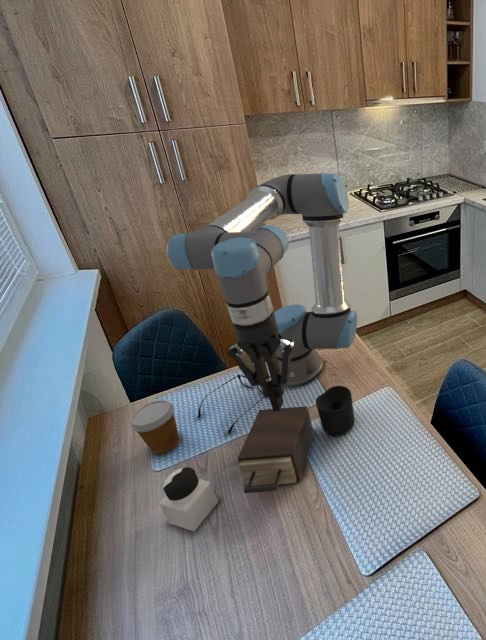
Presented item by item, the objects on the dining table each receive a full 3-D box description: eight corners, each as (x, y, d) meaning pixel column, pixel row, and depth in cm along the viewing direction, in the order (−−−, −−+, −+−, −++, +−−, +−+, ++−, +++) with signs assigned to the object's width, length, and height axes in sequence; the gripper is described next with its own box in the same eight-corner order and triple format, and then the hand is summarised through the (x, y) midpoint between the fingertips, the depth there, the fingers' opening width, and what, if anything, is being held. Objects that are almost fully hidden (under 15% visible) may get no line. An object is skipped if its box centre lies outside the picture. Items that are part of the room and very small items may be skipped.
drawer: (290, 502, 93) (283, 480, 89) (239, 507, 92) (230, 485, 89) (308, 436, 109) (303, 415, 106) (265, 439, 109) (259, 418, 105)
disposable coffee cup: (182, 452, 107) (168, 419, 102) (140, 465, 104) (123, 432, 99) (189, 425, 115) (175, 394, 110) (150, 436, 112) (134, 404, 107)
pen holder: (323, 414, 117) (317, 388, 113) (356, 409, 119) (351, 383, 114) (320, 441, 109) (314, 414, 105) (355, 435, 110) (351, 408, 106)
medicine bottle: (219, 501, 94) (204, 466, 89) (194, 532, 88) (177, 497, 83) (195, 494, 96) (179, 459, 91) (169, 523, 90) (150, 488, 85)
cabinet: (300, 480, 99) (292, 453, 95) (247, 485, 98) (237, 458, 94) (313, 431, 112) (307, 406, 108) (267, 435, 111) (259, 409, 107)
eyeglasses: (277, 397, 124) (274, 387, 122) (232, 436, 111) (228, 425, 109) (240, 381, 131) (237, 371, 129) (194, 416, 118) (190, 406, 116)
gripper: (209, 330, 75) (241, 422, 85) (281, 325, 75) (304, 417, 85) (226, 308, 81) (254, 395, 91) (292, 303, 82) (312, 391, 92)
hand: (278, 406), depth 88 cm, fingers closed
